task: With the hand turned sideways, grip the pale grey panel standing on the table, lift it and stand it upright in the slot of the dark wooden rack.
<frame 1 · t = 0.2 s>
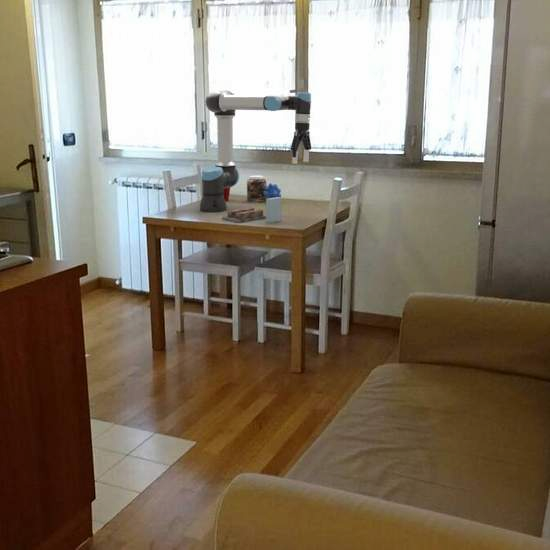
hand: (300, 162, 382), 27 cm above the table, tool pointing down, fingers open, 13 cm apart
jar: (256, 201, 429), on the table
plastic cup: (223, 201, 432), on the table
slot rack: (245, 218, 375), on the table
blue gear: (273, 203, 421), on the table
pale grey panel: (273, 221, 367), on the table
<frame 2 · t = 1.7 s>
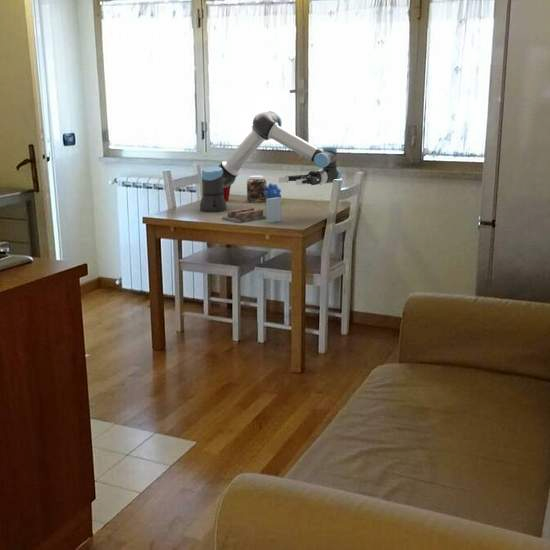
hand: (287, 181, 368), 20 cm above the table, tool horizontal, fingers open, 13 cm apart
nothing on the table moved.
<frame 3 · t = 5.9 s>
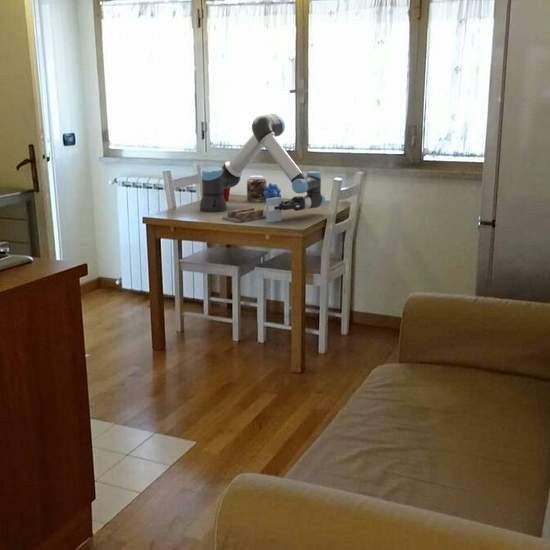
hand: (267, 208, 362), 7 cm above the table, tool horizontal, fingers closed on pale grey panel, 2 cm apart
pale grey panel: (273, 221, 367), on the table, touching gripper
everything else where it was.
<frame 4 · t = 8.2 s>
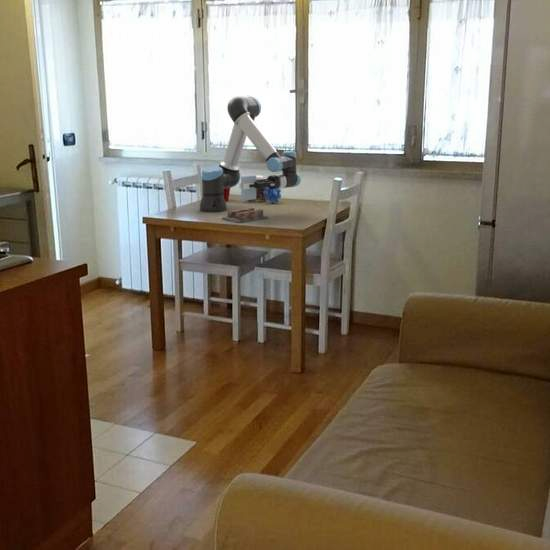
hand: (241, 186, 366), 18 cm above the table, tool horizontal, fingers closed on pale grey panel, 2 cm apart
pale grey panel: (248, 199, 371), point 10 cm above the table, touching gripper
everything else where it was.
when the fingers open (10 cm above the table, at t = 10.6 s): pale grey panel stays where it is, resting on slot rack.
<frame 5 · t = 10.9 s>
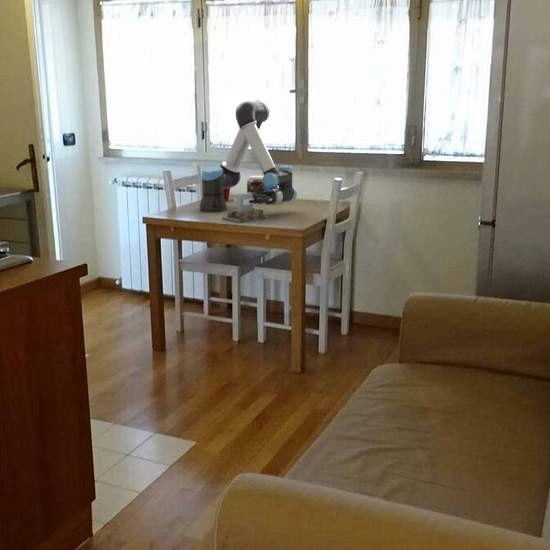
hand: (239, 201, 370), 10 cm above the table, tool horizontal, fingers open, 7 cm apart
pale grey panel: (245, 216, 374), point 1 cm above the table, touching slot rack
everything else where it was.
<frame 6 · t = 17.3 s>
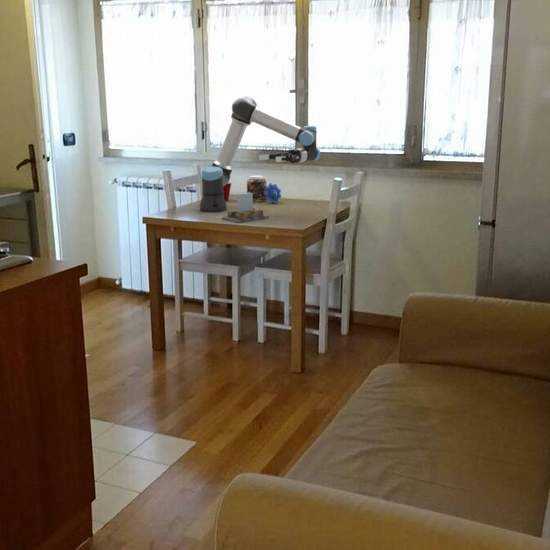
hand: (267, 158, 378), 30 cm above the table, tool horizontal, fingers open, 13 cm apart
nothing on the table moved.
at the end: pale grey panel inside the target area on the slot rack (0.0 cm from its centre), point 1.2 cm above the slot rack's base; pale grey panel tilted 0°; the gripper is holding nothing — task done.
